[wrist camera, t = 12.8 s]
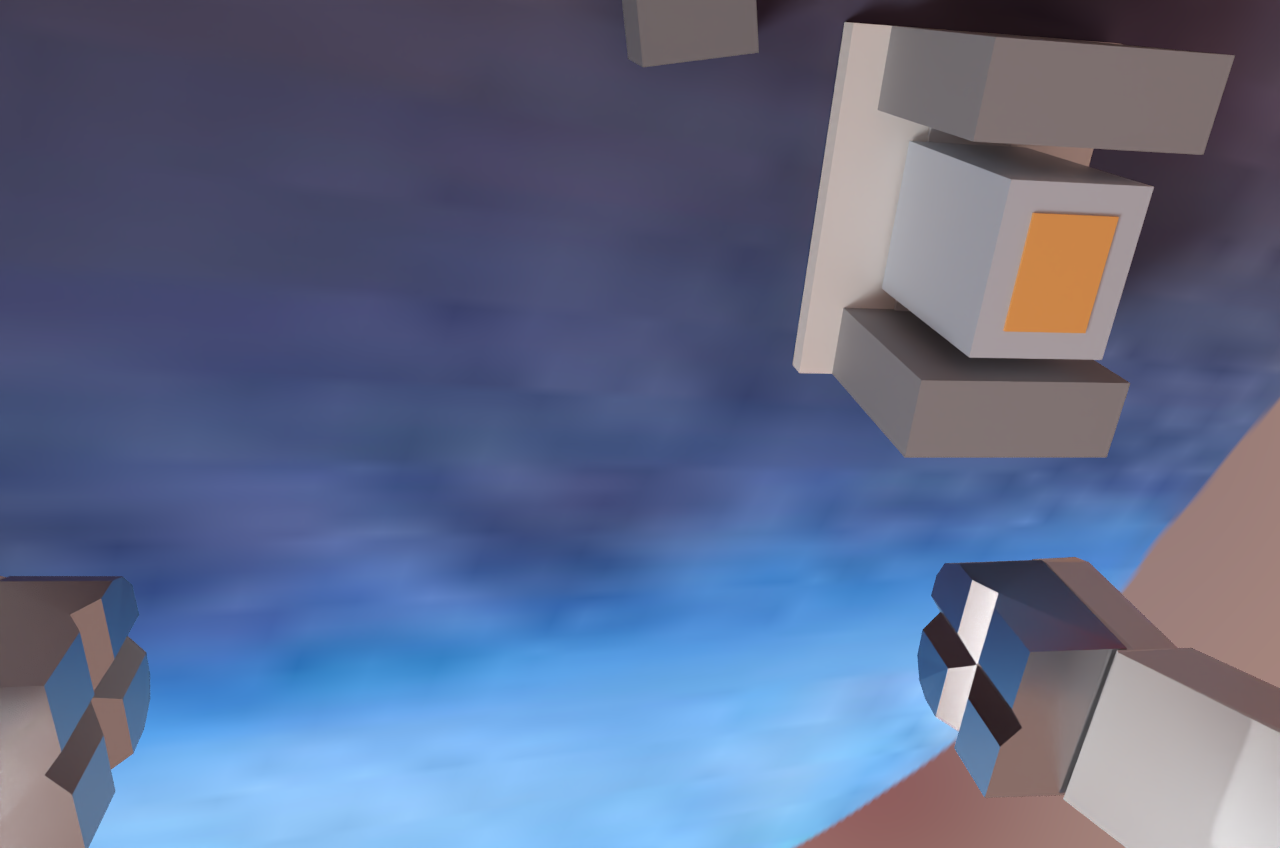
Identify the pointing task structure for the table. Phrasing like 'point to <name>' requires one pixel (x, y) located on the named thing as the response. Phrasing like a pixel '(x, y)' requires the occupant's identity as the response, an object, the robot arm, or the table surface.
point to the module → (1013, 249)
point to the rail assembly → (979, 115)
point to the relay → (688, 30)
